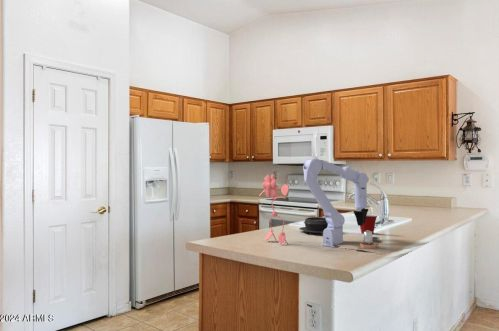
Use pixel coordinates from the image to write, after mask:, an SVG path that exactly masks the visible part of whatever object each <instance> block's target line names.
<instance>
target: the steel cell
mask: <svg viewBox="0 0 499 331" xmlns="http://www.w3.org/2000/svg"><path fill="white" fill-rule="evenodd" d="M372 237H373V234H372V231H370V230H366V231H364V234H363V240H364V245H372Z"/></svg>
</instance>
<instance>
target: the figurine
mask: <svg viewBox="0 0 499 331" xmlns="http://www.w3.org/2000/svg"><path fill="white" fill-rule="evenodd" d="M263 180H264V182H262V184H261V187H262V188H263V191H262V192H261V193H259V195H258V198H259V197H261V196H262V194H263V193H264V194H265V197H266V199H269V198H271V199H272V200H271V202H270V203H271V207H272V210H273V211H272V213H271V216H270V217H269V218H270V219H269V220H270V222H272V218H273V217H274V218H276V217H277V218H279V219H281V220H283V224H282V231H281V232H280V233H279V235H278V237H277V239H276V237H275V234H274V229H273V228H272V226H270V231H269V232H267V234H266V236H265V239H264V241H265V242H267V241H268V240H270V239H271V237H272V236H273V238H274V240H275V241H276V240H278V242H279V244H280V245H282V244H284V242H285V244H286V243H287V244H288V241H287V240H286V237H287V236H286V233H285V232H284V228H285V227H284V225H285V219H284V218H282V217H280V216H278V212H277V211H275V208H274V204H273V202H274V201H275V200H277V199H278V198H282V199H285V200H286V199H287V194H288V193H289V191H290V188H289V186H288V185H287V184H286V183H284V184H283V185H282V186H281V194H282V195H283V196H280V195H279V194H278V192H277V191H278V190H279V188H280V187H279V185H278V184H277V181H276V179H275V176H274V174H271V176H270V175H269V174H266V176H265V177H264V179H263ZM269 238H270V239H269Z"/></svg>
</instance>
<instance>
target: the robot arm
mask: <svg viewBox="0 0 499 331" xmlns="http://www.w3.org/2000/svg"><path fill="white" fill-rule="evenodd" d="M302 169H303V179H304V183H305V184H306V186H307V188H308V189H309V190H310V192H311V194H312V195H313V197H314V198H315V200H316V201H317V202H316V203H318V205H319V206H320V208H321V209H322V211H323V215H324V217H325V218H326V222H327V223H328V227H327V228H326V229H324V231H323V234H322V244H321V245H322V246H325V247H331V248H338V247H340V245H339V244H343V243H344V227H343V226H344V224H345V222H346V220H345V217H344V216H343V214H341V213H340V212H339V211H338V210H337V209H336V207H334V206H333V203H331V200H330V199H329V198H328V196H327V195H326V192H324V189H322V187H321V185H320V184H319V183H318V180H317V178H318V175H319V173H320V171H321V170H327V171H329V172H333V173H335V174H338V175H339V176H340V178H342V179H344V180H348V181H350V182H353V184H354V208H355V209H356V210H353V212H352V213H353V214H354V216H355V219H356V223H357V226H359V227H360V226H362V225H363V223H365V221H366V215H367V214H368V212H369V208H370V205H368V193H367V192H368V191H367V186H368V185H367V184H368V183H369V180H370V179H369V176H368V175H367V173H365V172H360V170H359V169H353V168H351V166H343V167H341V166H338V165H336V164H333V163H331V162H328V161H326V160H323V159H319V158H309V159H306V160H305V161H304V163H303V166H302ZM337 244H338V245H337Z"/></svg>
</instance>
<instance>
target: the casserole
mask: <svg viewBox="0 0 499 331" xmlns="http://www.w3.org/2000/svg"><path fill="white" fill-rule="evenodd" d="M303 224H304V226H303V227H299V230H300V231H303V232H306V233H308V234H311V235H323V231H324V229H326V228H327V227H328V223H327V222H326V218H325V216H321V217H320V216H312V217H311V216H310V217H307V218H305V220H304V221H303Z"/></svg>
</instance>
